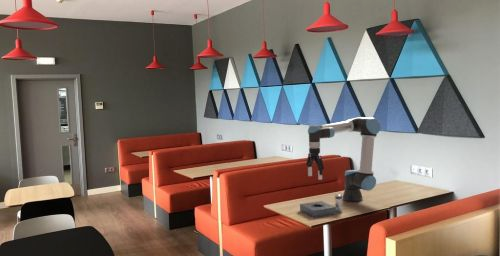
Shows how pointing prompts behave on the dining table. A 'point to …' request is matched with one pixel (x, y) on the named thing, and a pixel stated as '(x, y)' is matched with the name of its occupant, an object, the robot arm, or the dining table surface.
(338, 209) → the silver metal cylinder
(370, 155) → the robot arm
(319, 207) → the flange plate
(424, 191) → the dining table surface
